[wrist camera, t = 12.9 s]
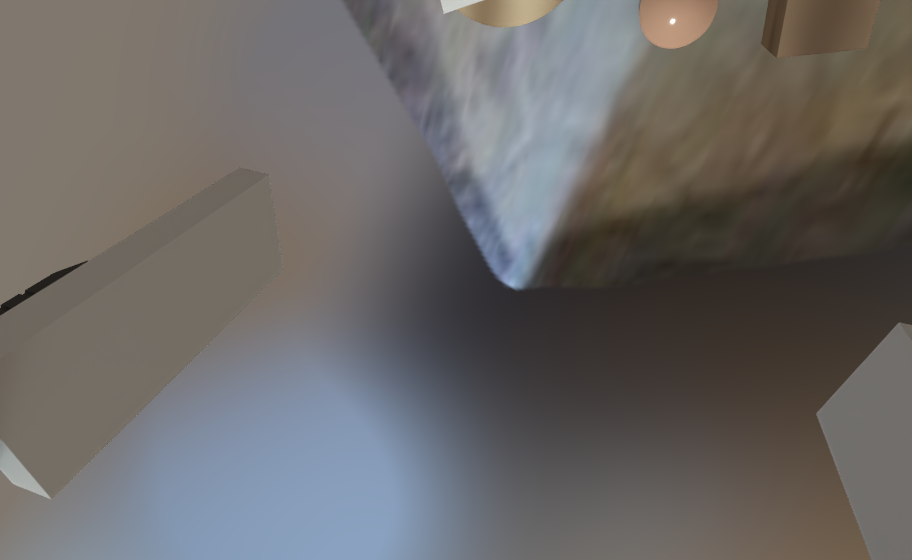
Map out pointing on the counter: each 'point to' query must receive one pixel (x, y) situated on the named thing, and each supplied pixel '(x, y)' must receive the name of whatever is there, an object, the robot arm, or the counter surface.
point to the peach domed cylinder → (675, 20)
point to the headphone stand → (456, 4)
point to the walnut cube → (818, 26)
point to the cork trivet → (508, 11)
